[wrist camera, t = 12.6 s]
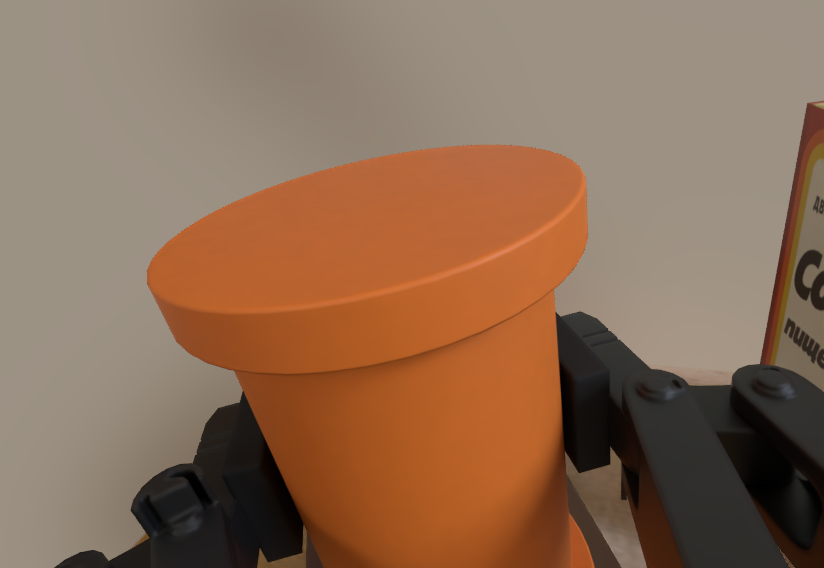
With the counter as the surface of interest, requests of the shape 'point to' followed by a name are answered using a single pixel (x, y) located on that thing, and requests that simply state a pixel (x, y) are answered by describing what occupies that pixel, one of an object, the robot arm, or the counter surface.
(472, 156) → the spool
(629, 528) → the counter surface
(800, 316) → the baking soda box
